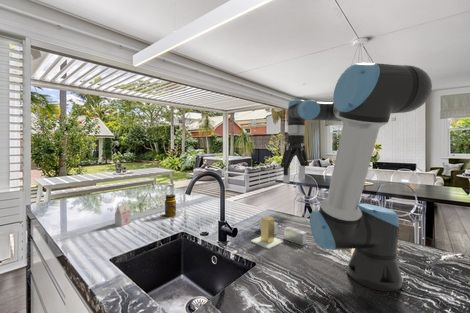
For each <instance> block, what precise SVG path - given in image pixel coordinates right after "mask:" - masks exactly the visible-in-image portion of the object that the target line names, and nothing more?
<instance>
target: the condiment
mask: <svg viewBox="0 0 470 313" xmlns="http://www.w3.org/2000/svg"><path fill="white" fill-rule="evenodd" d="M176 212H177V199H176V194H166V195H165V200H164V214H160V215H159V217H161V218H162V219H170V218H175V217H177V218H178V215H177V214H176Z"/></svg>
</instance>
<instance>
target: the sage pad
mask: <svg viewBox="0 0 470 313" xmlns="http://www.w3.org/2000/svg"><path fill="white" fill-rule="evenodd" d="M250 242H251V243H253V244H255V245H257V246H260V247H262V248H264V249H266V250H271V249H273V248H275V247H277V246H279V245H281V244H284V243H285V242H284V240H282V239H279V238H276V237H274V241H273V242H270V243H266V242H263V241H261V235H260V236H259V237H255V238H253V239H251V240H250Z"/></svg>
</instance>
